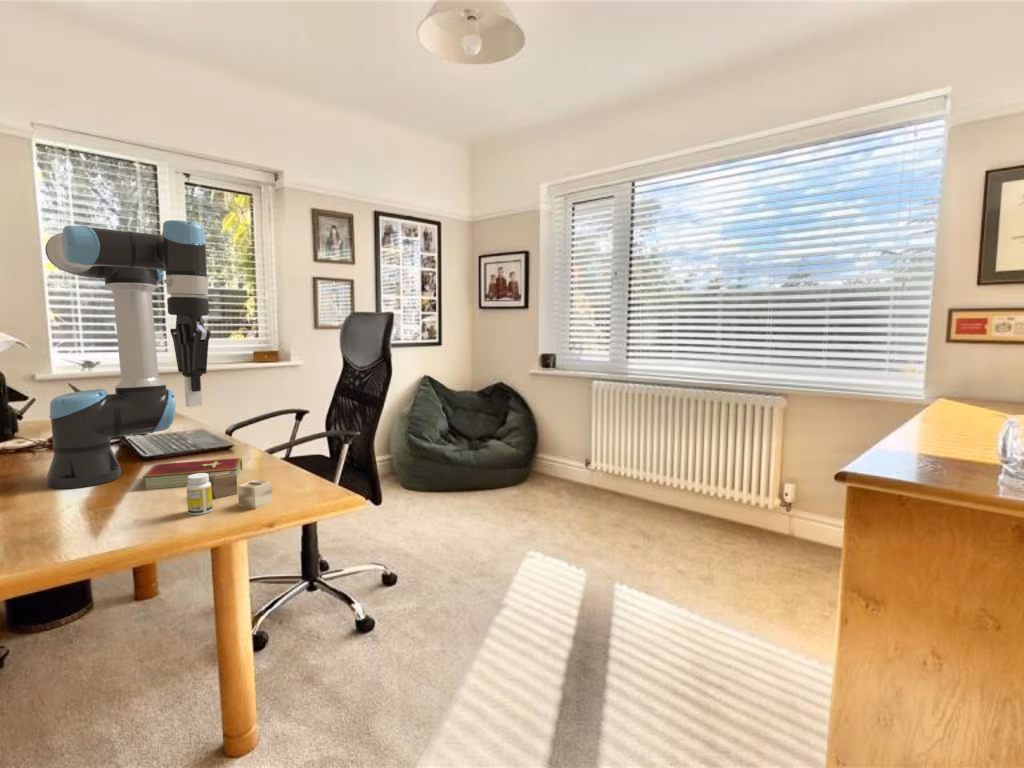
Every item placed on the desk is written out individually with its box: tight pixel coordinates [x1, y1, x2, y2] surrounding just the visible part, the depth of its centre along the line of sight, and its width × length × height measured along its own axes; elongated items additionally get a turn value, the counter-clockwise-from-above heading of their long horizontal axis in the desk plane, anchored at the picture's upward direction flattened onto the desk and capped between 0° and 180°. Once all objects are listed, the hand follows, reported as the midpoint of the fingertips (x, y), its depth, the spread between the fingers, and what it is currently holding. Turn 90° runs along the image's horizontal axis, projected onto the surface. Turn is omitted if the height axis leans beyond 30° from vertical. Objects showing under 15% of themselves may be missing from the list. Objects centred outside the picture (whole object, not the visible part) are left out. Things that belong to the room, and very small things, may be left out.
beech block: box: [237, 479, 273, 510], centre depth 123 cm, size 5×5×5 cm
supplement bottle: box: [186, 473, 213, 516], centre depth 117 cm, size 5×5×8 cm
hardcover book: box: [142, 457, 243, 490], centre depth 141 cm, size 12×21×4 cm, turn 112°
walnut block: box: [208, 471, 238, 500], centre depth 129 cm, size 5×5×5 cm
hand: (194, 405), depth 115 cm, fingers closed
